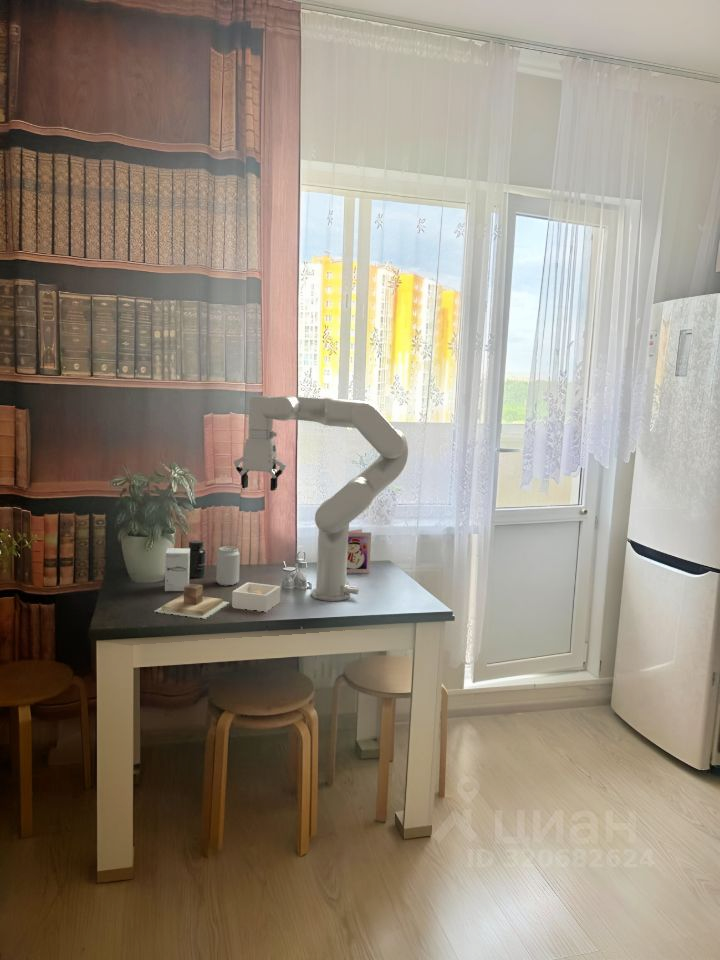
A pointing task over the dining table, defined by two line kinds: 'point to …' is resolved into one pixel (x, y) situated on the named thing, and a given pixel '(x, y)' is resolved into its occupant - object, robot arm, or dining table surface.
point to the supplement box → (177, 569)
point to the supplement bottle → (197, 559)
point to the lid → (192, 601)
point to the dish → (256, 597)
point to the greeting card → (358, 551)
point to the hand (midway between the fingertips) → (258, 488)
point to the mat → (194, 614)
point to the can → (227, 566)
